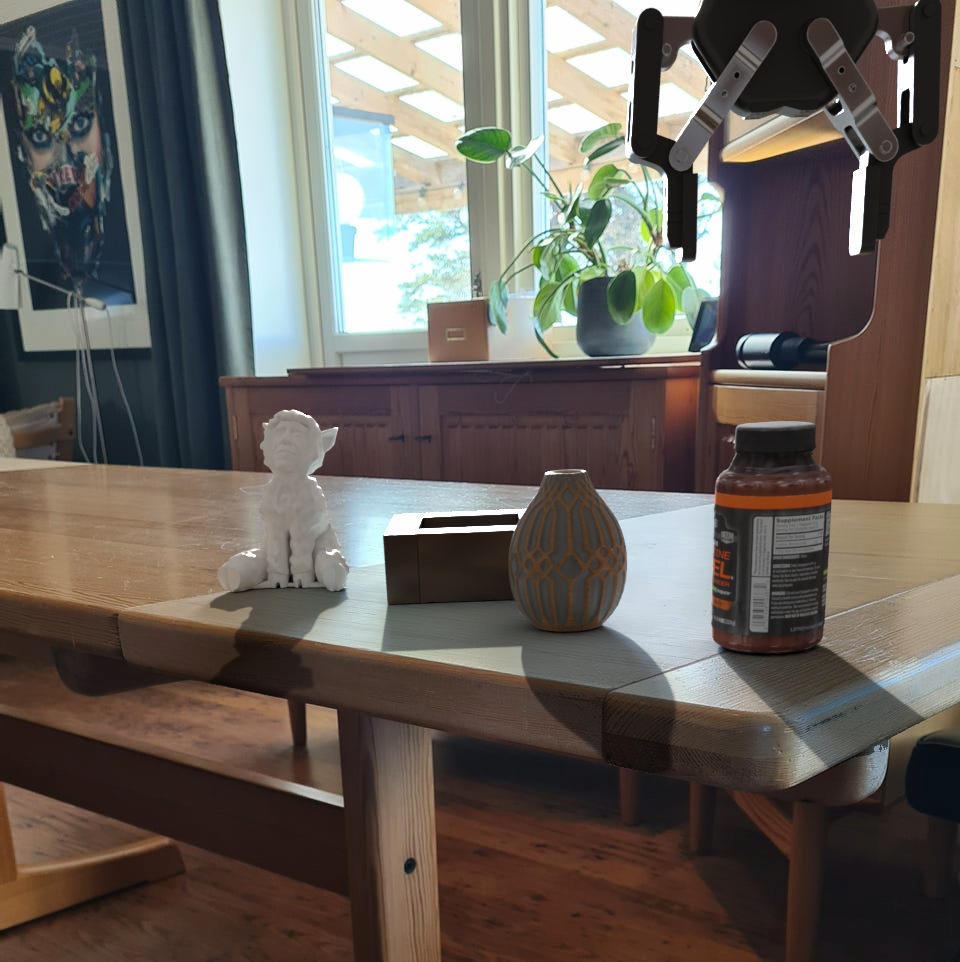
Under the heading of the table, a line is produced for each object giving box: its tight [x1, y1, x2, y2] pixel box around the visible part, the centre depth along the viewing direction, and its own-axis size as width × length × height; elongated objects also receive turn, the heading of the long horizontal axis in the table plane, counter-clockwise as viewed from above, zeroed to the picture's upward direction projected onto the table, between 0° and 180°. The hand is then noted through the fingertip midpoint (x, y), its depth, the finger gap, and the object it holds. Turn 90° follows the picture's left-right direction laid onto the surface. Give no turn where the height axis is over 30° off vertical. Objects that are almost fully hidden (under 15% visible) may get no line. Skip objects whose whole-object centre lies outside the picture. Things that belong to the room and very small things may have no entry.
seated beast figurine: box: [216, 409, 350, 593], centre depth 92 cm, size 10×9×12 cm
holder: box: [382, 508, 526, 605], centre depth 89 cm, size 11×11×4 cm
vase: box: [508, 469, 628, 633], centre depth 74 cm, size 7×7×9 cm
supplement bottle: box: [710, 420, 833, 655], centre depth 67 cm, size 6×6×11 cm
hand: (774, 257), depth 62 cm, fingers open, 8 cm apart
